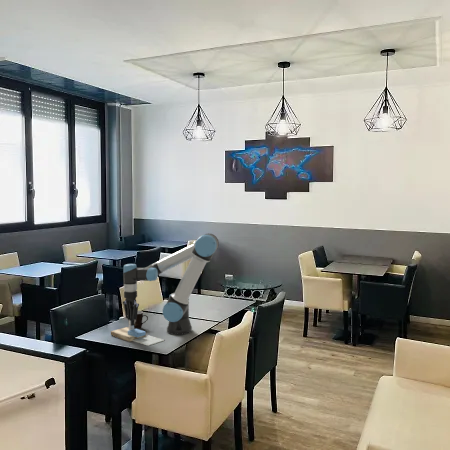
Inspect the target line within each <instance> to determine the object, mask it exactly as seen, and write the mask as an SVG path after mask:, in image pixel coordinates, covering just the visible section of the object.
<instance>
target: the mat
mask: <svg viewBox="0 0 450 450" xmlns="http://www.w3.org/2000/svg"><path fill="white" fill-rule="evenodd" d="M164 341H165V339H163V338H159V337H155V336H152V335H149V334H148V335H146V336H145V337H141V338H138V339H134V340H132V341H131V342H134V343H138V344H140V345H144V346H147V347H149V346H152V345H156V344H160V343H162V342H164Z"/></svg>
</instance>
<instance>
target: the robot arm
mask: <svg viewBox="0 0 450 450" xmlns="http://www.w3.org/2000/svg"><path fill="white" fill-rule="evenodd" d="M219 243H220V241H219V239H218V237H217V236H216V235H215V234H213V233H205V234H202V235H200V236H199V237H198V238H197V239H196V240H194V241H193V243H192V244H190V245H188V246H186V247H184V248H182V249H180V250H178V251H176V252H174V253H172V254H169V255H168V256H166V257H164V258H162V259H160V260H158V261H155V262H154V263H151V264H149V265H148V266H146V267H137V264H135V263H127V264H124V265H123V272H122V273H123V274H122V276H123V297H124V299H125V300H124V301H122V304H123V308H124V315H125V318H126V319H127V321H128V327H129V330H133V329H134V320H135V319H137V312H138V311H139V306H140V304H139V303H137V297H138V291H137V290H138V281H140V282H152V281H153V282H155V281H157V279H158V276H159V275H162V273H165V272H167V271H168V270H171V269H173V268H175V267H177V266H179V265H181V264H184V263H185V262H188V261H189V263H188V265H187V267H186V269H185V271H184V273H183V275H182V277H181V279H180V281H179V283H178V285H177V287H176V289H175V291H174V292H173V293H171V294H169V297H168V300H167V302H166V303H165V304H164V305H163V307H162V316H163V318H164V319H165V320H166V321H167V322H168V324H167V327H166V333H168V334H170V335H173V336H175V335H176V336H179V335H186V334H190V333H192V331H193V327H192V324H191V321H190V316H189V315H190V309H189V306H190V302H189V301H190V297H191V294H192V292H193V290H194V288H195V286H196V284H197V282H198V280H199V278H200V276H201V274H202V272H203V270H204V268H205V266H206V265H207V263H209V262H211V261H212V259H213V256H214V254H215V252H216V251H217V250H218V248H219V245H220V244H219Z"/></svg>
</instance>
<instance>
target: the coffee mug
mask: <svg viewBox="0 0 450 450" xmlns="http://www.w3.org/2000/svg"><path fill="white" fill-rule="evenodd" d="M144 317H146V320H145V321H143V318H144ZM148 320H149V316H148V315H146V314H144V311H143V310H138V312H137V319H135V320H134V329H139V330H142V327H143V324H145V323H146V322H148Z"/></svg>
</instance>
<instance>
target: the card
mask: <svg viewBox="0 0 450 450" xmlns="http://www.w3.org/2000/svg"><path fill="white" fill-rule="evenodd" d="M128 335H131V336H135V337H140V336H144V335H146V336H147V332H146V331H144V330H142V329H133V330H129V331H128Z"/></svg>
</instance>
